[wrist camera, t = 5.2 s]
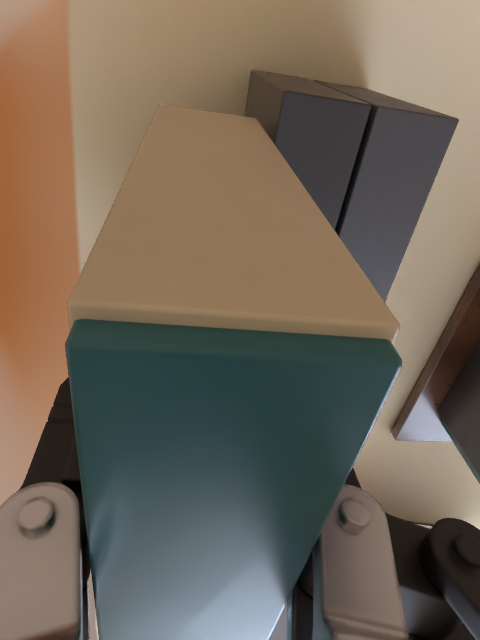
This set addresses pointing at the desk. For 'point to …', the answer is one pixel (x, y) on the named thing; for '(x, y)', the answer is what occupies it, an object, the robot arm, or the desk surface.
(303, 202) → the teal book
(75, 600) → the robot arm
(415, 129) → the grey books
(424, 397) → the book rack
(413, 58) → the desk surface
